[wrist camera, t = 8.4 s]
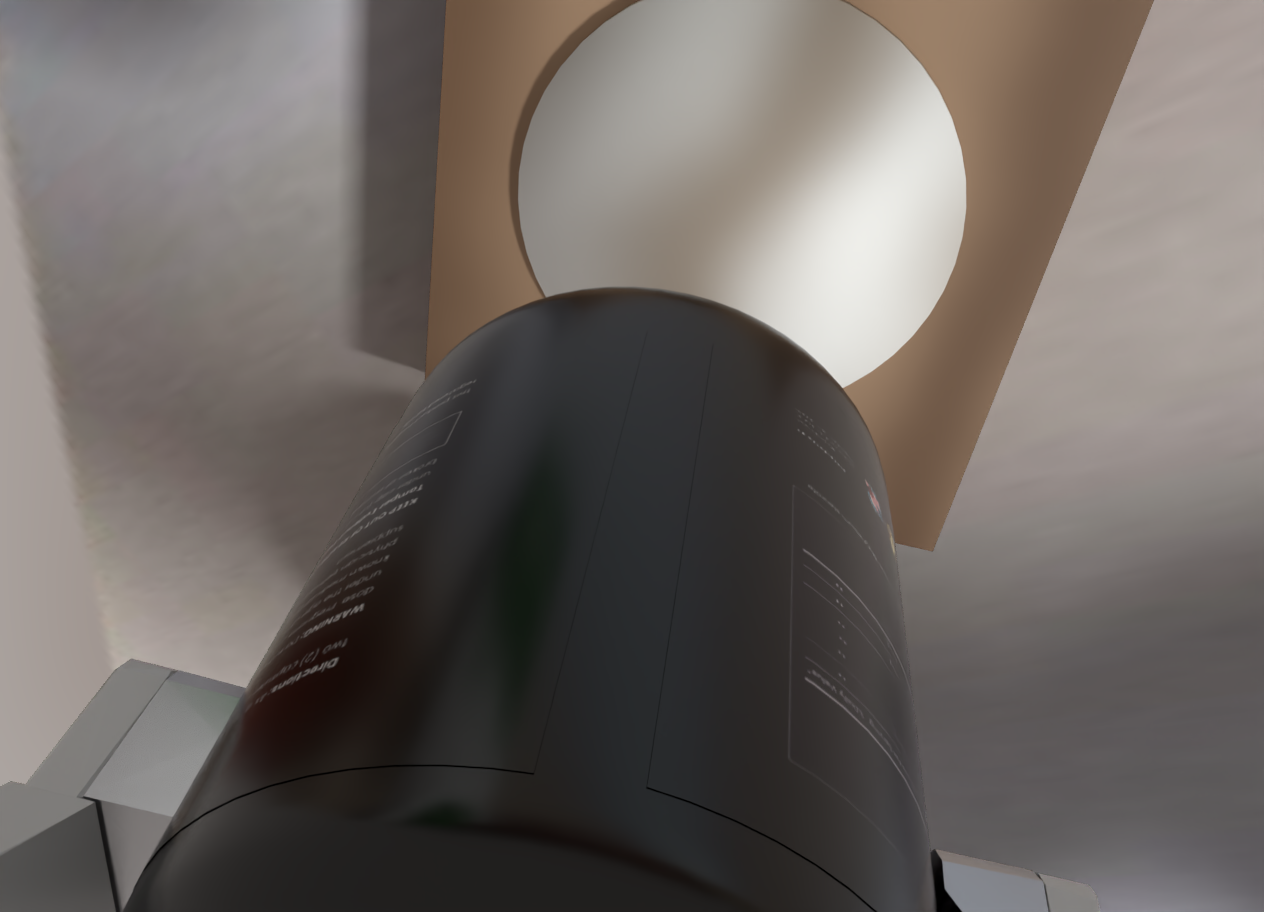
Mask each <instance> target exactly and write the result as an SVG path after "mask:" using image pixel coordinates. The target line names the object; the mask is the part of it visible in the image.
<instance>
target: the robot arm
mask: <svg viewBox="0 0 1264 912" xmlns="http://www.w3.org/2000/svg"><path fill="white" fill-rule="evenodd" d="M245 689H246V688H244V687H240V686H236V685H233V684H229V683H225V682H221V681H217V680H214V679H210V678H206V677H202V676H198V675H195V674H191V673H187V672H183V671H179V670H175V669H171V668H167V667H163V666H159V665H155V664H151V663H147V662H143V661H139V660H135V659H130V660H129V661H127V662H126V663H124V664H123V665H121V666H120V667H118V668H117V669H115V670H114V672H113V673H112V674H111V675H110V677H109V678H108V679H107V681H106V682H105V683H104V684H103V686H102V687H101V688H100V690H99V691H98V692H97V693H96V695H95V696H94V697H93V699H92V700H91V701H90V702H89V704H88V705H87V706H86V707H85V709H84V710H83V711H82V713H81V714H80V715H79V716H78V718H77V719H76V720H75V722H74V723H73V724H72V725H71V727H70V728H69V729H68V731H67V732H66V733H65V734H64V736H63V737H62V738H61V739H60V741H59V742H58V743H57V745H56V746H55V747H54V748H53V750H52V751H51V752H50V754H49V755H48V756H47V757H46V759H45V760H44V761H43V762H42V764H41V765H40V766H39V768H38V769H37V770H36V771H35V773H34V774H33V775H32V777H31V778H30V779H29V780H28V782H27V783H26V784H22V783H17V782H12V781H10V782H8V783H6V784H4V785H2V786H0V912H122V911H123V909H124V907H125V905H126V903H127V901H128V900H129V898H130V896H131V894H132V892H133V889H134V886H135V885H136V883H137V881H138V879H139V877H140V875H141V873H142V872H143V870H144V868H145V866H146V864H147V862H148V861H149V859H150V857H151V855H152V853H153V852H154V850H155V848H156V846H157V844H158V842H159V841H160V839H161V837H162V835H163V834H164V832H165V830H166V828H167V827H168V825H169V823H170V821H171V820H172V818H173V816H174V814H175V812H176V811H177V809H178V807H179V805H180V804H181V802H182V800H183V798H184V797H185V795H186V793H187V791H188V790H189V788H190V786H191V784H192V783H193V781H194V779H195V777H196V776H197V774H198V772H199V770H200V768H201V767H202V765H203V763H204V761H205V760H206V758H207V756H208V754H209V753H210V751H211V749H212V747H213V746H214V744H215V742H216V740H217V739H218V737H219V735H220V733H221V732H222V730H223V728H224V726H225V725H226V723H227V721H228V719H229V718H230V716H231V714H232V712H233V711H234V709H235V707H236V705H237V704H238V702H239V700H240V698H241V697H242V695H243V693H244V691H245ZM931 861H932V870H933V878H934V887H935V896H936V905H937V912H1100V907H1099V903H1098V898H1097V896H1096V894H1095V893H1094V891H1093V890H1092V888H1091V887H1090V885H1087V884H1083V883H1079V882H1074V881H1070V880H1066V879H1061V878H1057V877H1053V876H1049V875H1044V874H1040V873H1034V872H1033V871H1032V870H1028V869H1023V868H1019V867H1014V866H1010V865H1005V864H1001V863H996V862H992V861H987V860H983V859H978V858H973V857H969V856H964V855H960V854H955V853H951V852H946V851H942V850H937V849H934V850H933V851H932V852H931Z"/></svg>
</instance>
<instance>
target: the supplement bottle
mask: <svg viewBox="0 0 1264 912" xmlns="http://www.w3.org/2000/svg"><path fill="white" fill-rule="evenodd" d="M122 912H937V905H936V896H935V887H934V878H933V870H932V861H931V852H930V843H929V835H928V826H927V817H926V808H925V800H924V791H923V782H922V773H921V765H920V756H919V747H918V738H917V730H916V721H915V712H914V703H913V695H912V686H911V677H910V668H909V660H908V651H907V642H906V633H905V625H904V616H903V607H902V598H901V590H900V581H899V572H898V563H897V555H896V546H895V537H894V531H893V525H892V518H891V511H890V504H889V498H888V492H887V486H886V480H885V475H884V472H883V468H882V465H881V461H880V458H879V455H878V451H877V448H876V445H875V443H874V441H873V438H872V436H871V434H870V431H869V429H868V427H867V425H866V423H865V421H864V420H863V418H862V416H861V414H860V413H859V411H858V409H857V407H856V406H855V405H854V403H853V402H852V400H851V399H850V398H849V396H848V395H847V394H846V392H845V391H844V389H843V388H842V387H841V386H840V384H839V383H838V382H837V381H836V380H835V379H834V378H833V376H832V375H831V374H830V373H829V372H828V371H827V370H826V369H825V368H824V367H823V366H822V365H821V364H820V363H819V362H818V361H817V360H816V359H815V358H814V357H812V356H811V355H810V354H809V353H808V352H807V351H806V350H805V349H803V348H802V347H801V346H799V345H798V344H797V343H795V342H794V341H792V340H791V339H790V338H788V337H787V336H786V335H784V334H783V333H781V332H779V331H778V330H776V329H774V328H773V327H771V326H769V325H768V324H766V323H764V322H763V321H761V320H759V319H756V318H754V317H752V316H750V315H748V314H746V313H744V312H742V311H740V310H738V309H735V308H732V307H729V306H727V305H724V304H721V303H719V302H716V301H713V300H710V299H706V298H702V297H699V296H695V295H691V294H687V293H682V292H676V291H671V290H665V289H657V288H646V287H599V288H589V289H580V290H575V291H570V292H565V293H560V294H555V295H552V296H549V297H545V298H542V299H538V300H535V301H532V302H530V303H527V304H525V305H522V306H520V307H517V308H515V309H512V310H510V311H508V312H507V313H505V314H503V315H501V316H499V317H497V318H495V319H493V320H492V321H490V322H488V323H486V324H485V325H483V326H482V327H480V328H479V329H477V330H476V331H474V332H473V333H471V334H470V335H468V336H467V337H466V338H465V339H463V340H462V341H461V342H460V343H459V344H458V345H456V346H455V347H454V348H453V349H452V350H451V351H450V352H449V353H448V354H447V355H446V356H445V357H444V358H443V359H442V360H441V361H440V362H439V364H438V365H437V366H436V367H435V368H434V369H433V371H432V372H431V373H430V374H429V376H428V377H427V378H426V380H425V381H424V383H423V384H422V385H421V387H420V388H419V389H418V391H417V392H416V394H415V395H414V397H413V399H412V400H411V402H410V404H409V405H408V407H407V409H406V410H405V412H404V414H403V416H402V417H401V419H400V421H399V422H398V424H397V425H396V426H395V428H394V430H393V432H392V433H391V435H390V437H389V438H388V440H387V442H386V444H385V445H384V447H383V449H382V451H381V453H380V454H379V456H378V458H377V460H376V461H375V463H374V465H373V467H372V468H371V470H370V472H369V474H368V475H367V477H366V479H365V481H364V482H363V484H362V486H361V488H360V489H359V491H358V493H357V495H356V496H355V498H354V500H353V502H352V503H351V505H350V507H349V509H348V510H347V512H346V514H345V516H344V517H343V519H342V521H341V523H340V524H339V526H338V528H337V530H336V531H335V533H334V535H333V537H332V539H331V540H330V542H329V544H328V546H327V547H326V549H325V551H324V553H323V554H322V556H321V558H320V560H319V561H318V563H317V565H316V567H315V568H314V570H313V572H312V574H311V575H310V577H309V579H308V581H307V582H306V584H305V586H304V588H303V589H302V591H301V593H300V595H299V596H298V598H297V600H296V602H295V603H294V605H293V607H292V609H291V610H290V612H289V614H288V616H287V618H286V619H285V621H284V623H283V625H282V626H281V628H280V630H279V632H278V633H277V635H276V637H275V639H274V640H273V642H272V644H271V646H270V647H269V649H268V651H267V653H266V654H265V656H264V658H263V660H262V661H261V663H260V665H259V667H258V668H257V670H256V672H255V674H254V675H253V677H252V679H251V681H250V682H249V684H248V686H247V688H246V689H245V691H244V693H243V695H242V697H241V698H240V700H239V702H238V704H237V705H236V707H235V709H234V711H233V712H232V714H231V716H230V718H229V719H228V721H227V723H226V725H225V726H224V728H223V730H222V732H221V733H220V735H219V737H218V739H217V740H216V742H215V744H214V746H213V747H212V749H211V751H210V753H209V754H208V756H207V758H206V760H205V761H204V763H203V765H202V767H201V768H200V770H199V772H198V774H197V776H196V777H195V779H194V781H193V783H192V784H191V786H190V788H189V790H188V791H187V793H186V795H185V797H184V798H183V800H182V802H181V804H180V805H179V807H178V809H177V811H176V812H175V814H174V816H173V818H172V820H171V821H170V823H169V825H168V827H167V828H166V830H165V832H164V834H163V835H162V837H161V839H160V841H159V842H158V844H157V846H156V848H155V850H154V852H153V853H152V855H151V857H150V859H149V861H148V862H147V864H146V866H145V868H144V870H143V872H142V873H141V875H140V877H139V879H138V881H137V883H136V885H135V886H134V889H133V892H132V894H131V896H130V898H129V900H128V901H127V903H126V905H125V907H124V909H123V911H122Z"/></svg>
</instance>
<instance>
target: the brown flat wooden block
mask: <svg viewBox="0 0 1264 912" xmlns="http://www.w3.org/2000/svg"><path fill="white" fill-rule="evenodd" d="M1153 1H1154V0H446V13H445V31H444V49H443V67H442V85H441V102H440V120H439V138H438V156H437V174H436V191H435V209H434V227H433V245H432V263H431V280H430V298H429V316H428V334H427V352H426V369H425V380H426V378H427V377H428V376H429V374H430V373H431V372H432V371H433V369H434V368H435V367H436V366H437V365H438V364H439V362H440V361H441V360H442V359H443V358H444V357H445V356H446V355H447V354H448V353H449V352H450V351H451V350H452V349H453V348H454V347H455V346H456V345H458V344H459V343H460V342H461V341H462V340H463V339H465V338H466V337H467V336H468V335H470V334H471V333H473V332H474V331H476V330H477V329H479V328H480V327H482V326H483V325H485V324H486V323H488V322H490V321H492V320H493V319H495V318H497V317H499V316H501V315H503V314H505V313H507V312H508V311H510V310H512V309H515V308H517V307H520V306H522V305H525V304H527V303H530V302H532V301H535V300H538V299H542V298H545V297H549V296H552V295H555V294H560V293H565V292H570V291H575V290H580V289H589V288H599V287H646V288H657V289H665V290H671V291H676V292H682V293H687V294H691V295H695V296H699V297H702V298H706V299H710V300H713V301H716V302H719V303H721V304H724V305H727V306H729V307H732V308H735V309H738V310H740V311H742V312H744V313H746V314H748V315H750V316H752V317H754V318H756V319H759V320H761V321H763V322H764V323H766V324H768V325H769V326H771V327H773V328H774V329H776V330H778V331H779V332H781V333H783V334H784V335H786V336H787V337H788V338H790V339H791V340H792V341H794V342H795V343H797V344H798V345H799V346H801V347H802V348H803V349H805V350H806V351H807V352H808V353H809V354H810V355H811V356H812V357H814V358H815V359H816V360H817V361H818V362H819V363H820V364H821V365H822V366H823V367H824V368H825V369H826V370H827V371H828V372H829V373H830V374H831V375H832V376H833V378H834V379H835V380H836V381H837V382H838V383H839V384H840V386H841V387H842V388H843V389H844V391H845V392H846V394H847V395H848V396H849V398H850V399H851V400H852V402H853V403H854V405H855V406H856V407H857V409H858V411H859V413H860V414H861V416H862V418H863V420H864V421H865V423H866V425H867V427H868V429H869V431H870V434H871V436H872V438H873V441H874V443H875V445H876V448H877V451H878V455H879V458H880V461H881V465H882V468H883V472H884V475H885V480H886V486H887V492H888V498H889V504H890V511H891V518H892V525H893V531H894V537H895V543H898V544H902V545H907V546H911V547H915V548H920V549H924V550H929V551H933V549H934V547H935V544H936V542H937V539H938V537H939V534H940V532H941V529H942V527H943V524H944V522H945V519H946V517H947V515H948V512H949V510H950V507H951V505H952V502H953V500H954V497H955V495H956V492H957V490H958V487H959V485H960V482H961V480H962V477H963V475H964V472H965V470H966V467H967V465H968V462H969V460H970V457H971V455H972V452H973V450H974V447H975V445H976V442H977V440H978V437H979V435H980V432H981V430H982V427H983V425H984V422H985V420H986V417H987V415H988V412H989V410H990V407H991V405H992V402H993V400H994V397H995V395H996V392H997V390H998V387H999V385H1000V382H1001V380H1002V377H1003V375H1004V373H1005V370H1006V368H1007V365H1008V363H1009V360H1010V358H1011V355H1012V353H1013V350H1014V348H1015V345H1016V343H1017V340H1018V338H1019V335H1020V333H1021V330H1022V328H1023V325H1024V323H1025V320H1026V318H1027V315H1028V313H1029V310H1030V308H1031V305H1032V303H1033V300H1034V298H1035V295H1036V293H1037V290H1038V288H1039V285H1040V283H1041V280H1042V278H1043V275H1044V273H1045V270H1046V268H1047V265H1048V263H1049V260H1050V258H1051V255H1052V253H1053V250H1054V248H1055V245H1056V243H1057V240H1058V238H1059V235H1060V233H1061V231H1062V228H1063V226H1064V223H1065V221H1066V218H1067V216H1068V213H1069V211H1070V208H1071V206H1072V203H1073V201H1074V198H1075V196H1076V193H1077V191H1078V188H1079V186H1080V183H1081V181H1082V178H1083V176H1084V173H1085V171H1086V168H1087V166H1088V163H1089V161H1090V158H1091V156H1092V153H1093V151H1094V148H1095V146H1096V143H1097V141H1098V138H1099V136H1100V133H1101V131H1102V128H1103V126H1104V123H1105V121H1106V118H1107V116H1108V113H1109V111H1110V108H1111V106H1112V103H1113V101H1114V98H1115V96H1116V93H1117V91H1118V88H1119V86H1120V84H1121V81H1122V79H1123V76H1124V74H1125V71H1126V69H1127V66H1128V64H1129V61H1130V59H1131V56H1132V54H1133V51H1134V49H1135V46H1136V44H1137V41H1138V39H1139V36H1140V34H1141V31H1142V29H1143V26H1144V24H1145V21H1146V19H1147V16H1148V14H1149V11H1150V9H1151V6H1152V4H1153Z"/></svg>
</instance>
